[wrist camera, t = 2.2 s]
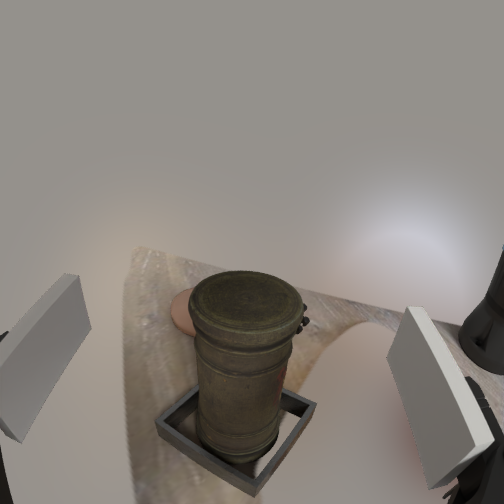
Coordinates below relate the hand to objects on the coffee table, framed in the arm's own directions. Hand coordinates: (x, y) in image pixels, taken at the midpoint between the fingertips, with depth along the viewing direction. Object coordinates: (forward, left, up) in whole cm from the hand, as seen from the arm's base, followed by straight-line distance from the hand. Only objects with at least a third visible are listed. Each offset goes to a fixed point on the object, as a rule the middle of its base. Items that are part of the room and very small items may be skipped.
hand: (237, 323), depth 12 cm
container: (-9, -5, -23) cm, 26 cm away
